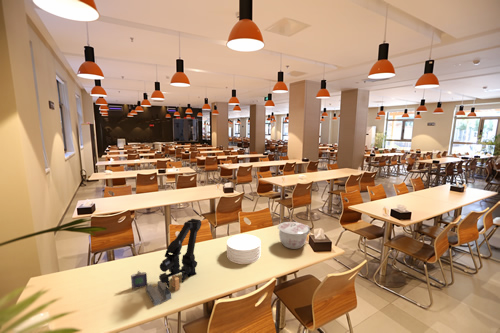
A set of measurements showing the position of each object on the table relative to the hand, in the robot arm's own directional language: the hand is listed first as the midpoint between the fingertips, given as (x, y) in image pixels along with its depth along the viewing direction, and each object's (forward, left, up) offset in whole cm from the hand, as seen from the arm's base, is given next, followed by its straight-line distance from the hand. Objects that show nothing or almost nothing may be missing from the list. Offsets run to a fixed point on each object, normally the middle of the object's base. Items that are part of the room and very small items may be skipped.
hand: (175, 285), depth 153 cm
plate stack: (-60, -5, -2) cm, 60 cm away
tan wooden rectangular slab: (0, 0, -2) cm, 2 cm away
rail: (+11, 0, -2) cm, 11 cm away
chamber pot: (-104, +10, -2) cm, 105 cm away
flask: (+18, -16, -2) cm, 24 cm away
